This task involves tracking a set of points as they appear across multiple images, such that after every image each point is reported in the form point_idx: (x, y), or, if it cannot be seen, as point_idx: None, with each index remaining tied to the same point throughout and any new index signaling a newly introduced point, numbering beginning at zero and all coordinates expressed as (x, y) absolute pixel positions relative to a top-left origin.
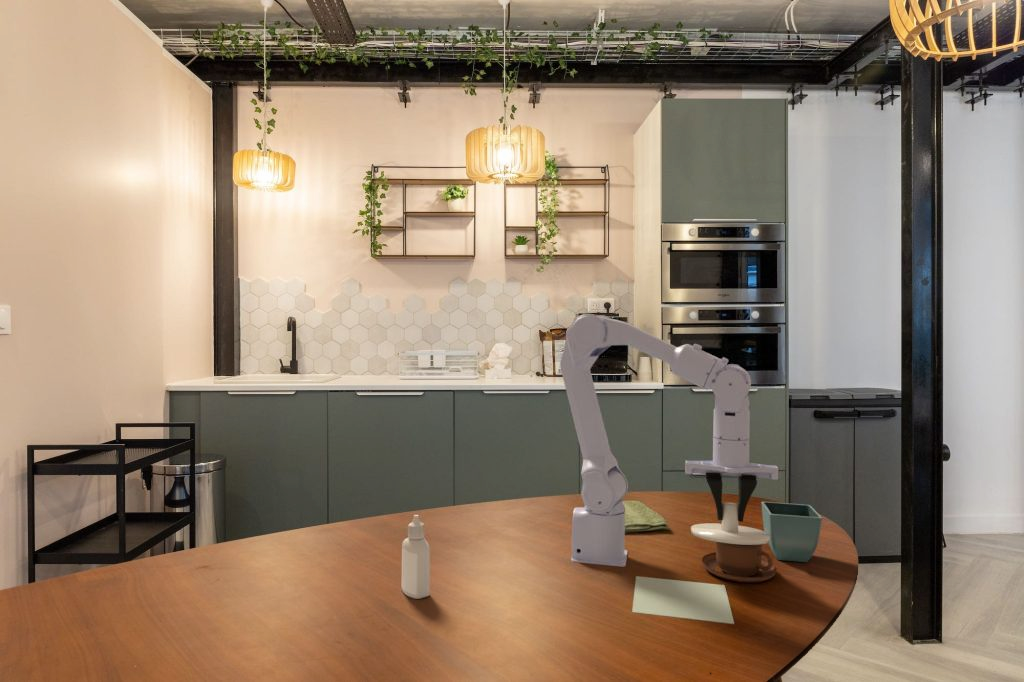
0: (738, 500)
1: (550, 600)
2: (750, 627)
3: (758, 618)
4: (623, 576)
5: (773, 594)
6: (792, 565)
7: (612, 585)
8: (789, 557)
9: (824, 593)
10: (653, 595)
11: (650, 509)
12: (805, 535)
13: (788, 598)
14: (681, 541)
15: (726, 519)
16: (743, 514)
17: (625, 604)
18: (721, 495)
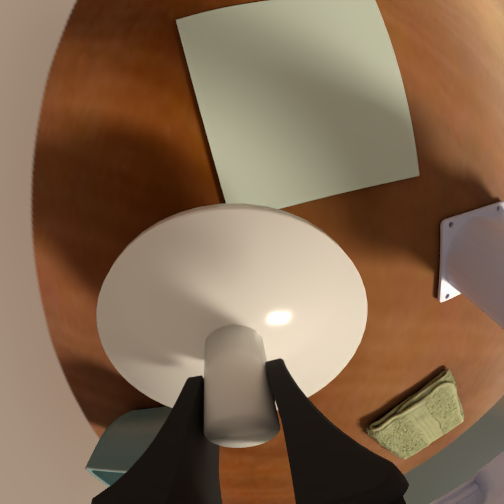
0: (217, 463)
1: (479, 36)
2: (145, 37)
3: (133, 86)
4: (436, 177)
5: (127, 240)
6: (144, 395)
7: (442, 121)
8: (151, 410)
9: (60, 296)
10: (367, 79)
11: (393, 450)
12: (115, 441)
13: (98, 235)
14: (346, 404)
15: (246, 360)
16: (179, 396)
17: (398, 38)
18: (287, 440)
